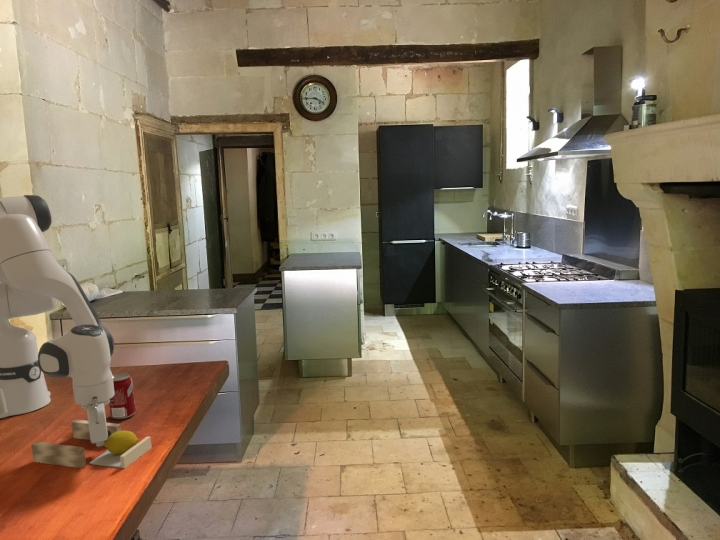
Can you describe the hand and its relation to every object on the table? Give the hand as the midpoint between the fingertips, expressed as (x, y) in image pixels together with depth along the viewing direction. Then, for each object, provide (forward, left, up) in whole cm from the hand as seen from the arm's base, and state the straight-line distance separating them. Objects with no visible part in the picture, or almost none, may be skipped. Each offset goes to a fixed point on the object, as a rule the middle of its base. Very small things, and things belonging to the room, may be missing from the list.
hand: (100, 443), depth 131 cm
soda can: (-10, +20, -3) cm, 23 cm away
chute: (-7, 0, -3) cm, 7 cm away
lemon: (+2, -1, +1) cm, 2 cm away
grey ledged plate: (+5, 0, -3) cm, 6 cm away
